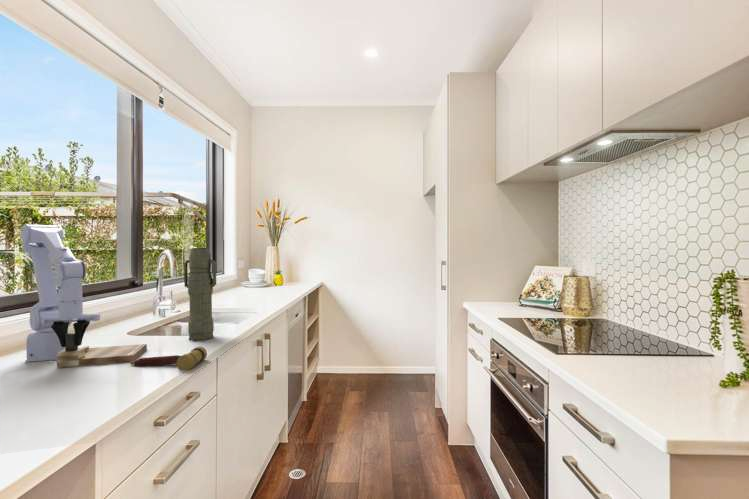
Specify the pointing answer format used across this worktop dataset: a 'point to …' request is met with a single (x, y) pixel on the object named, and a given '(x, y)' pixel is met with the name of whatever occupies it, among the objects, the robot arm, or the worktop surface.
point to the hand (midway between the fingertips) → (71, 345)
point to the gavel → (175, 359)
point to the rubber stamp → (70, 352)
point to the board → (111, 354)
